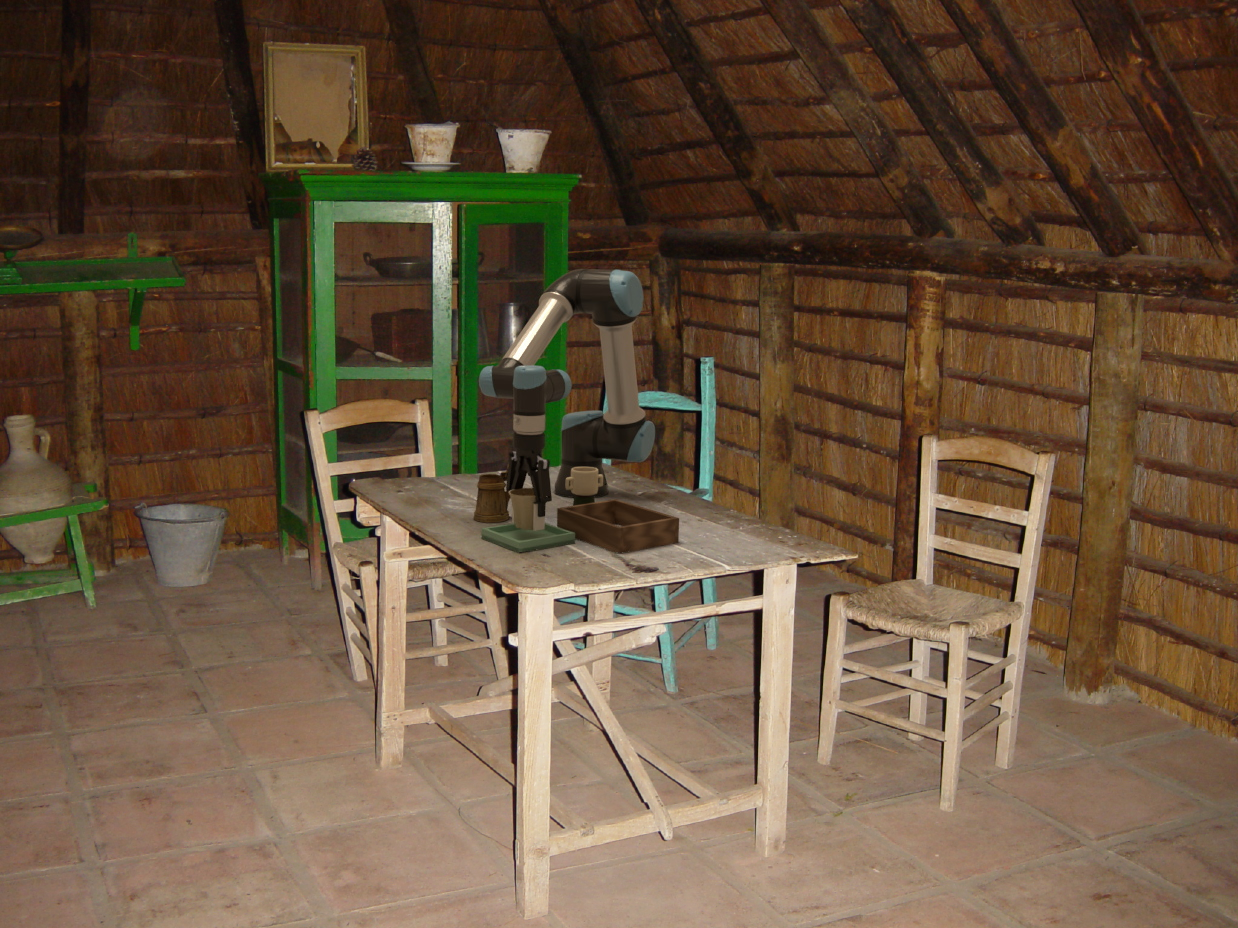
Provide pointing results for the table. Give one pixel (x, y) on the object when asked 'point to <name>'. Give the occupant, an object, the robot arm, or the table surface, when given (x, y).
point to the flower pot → (523, 507)
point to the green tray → (527, 537)
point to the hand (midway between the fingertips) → (528, 525)
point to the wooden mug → (492, 498)
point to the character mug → (584, 484)
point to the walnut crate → (635, 523)
